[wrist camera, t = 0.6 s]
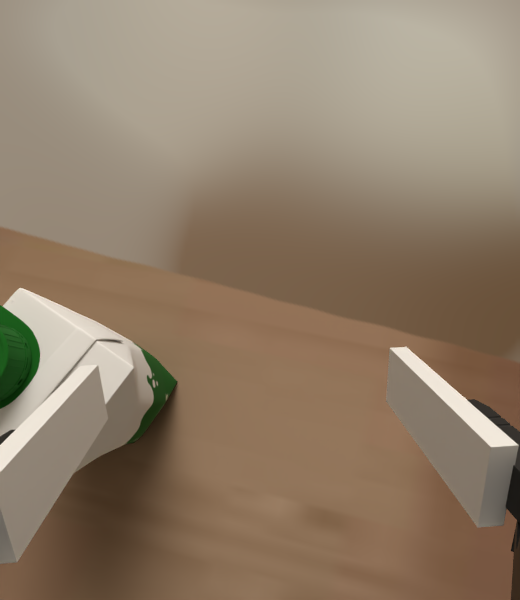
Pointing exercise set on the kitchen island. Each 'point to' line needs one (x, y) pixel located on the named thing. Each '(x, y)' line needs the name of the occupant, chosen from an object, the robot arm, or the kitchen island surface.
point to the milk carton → (66, 360)
